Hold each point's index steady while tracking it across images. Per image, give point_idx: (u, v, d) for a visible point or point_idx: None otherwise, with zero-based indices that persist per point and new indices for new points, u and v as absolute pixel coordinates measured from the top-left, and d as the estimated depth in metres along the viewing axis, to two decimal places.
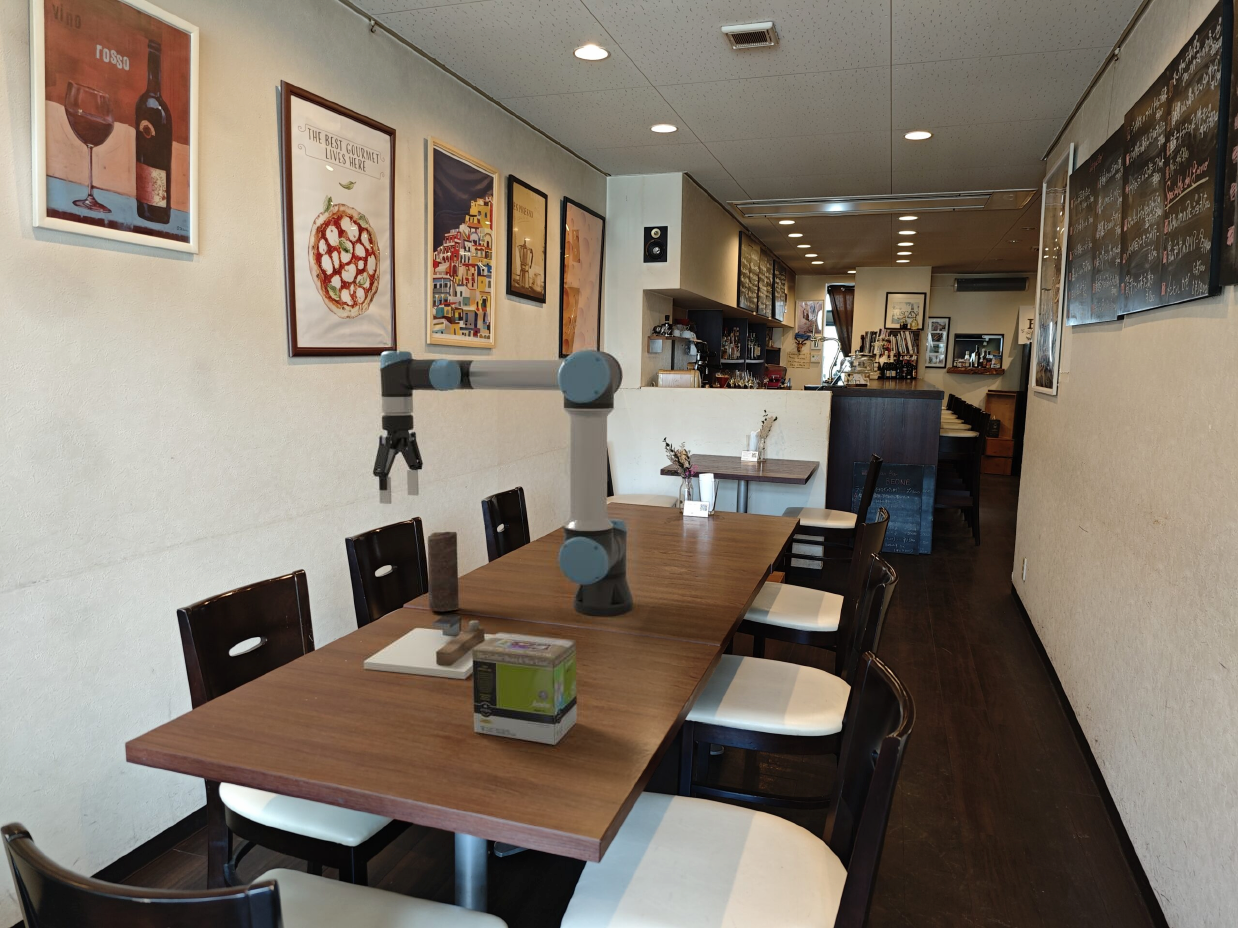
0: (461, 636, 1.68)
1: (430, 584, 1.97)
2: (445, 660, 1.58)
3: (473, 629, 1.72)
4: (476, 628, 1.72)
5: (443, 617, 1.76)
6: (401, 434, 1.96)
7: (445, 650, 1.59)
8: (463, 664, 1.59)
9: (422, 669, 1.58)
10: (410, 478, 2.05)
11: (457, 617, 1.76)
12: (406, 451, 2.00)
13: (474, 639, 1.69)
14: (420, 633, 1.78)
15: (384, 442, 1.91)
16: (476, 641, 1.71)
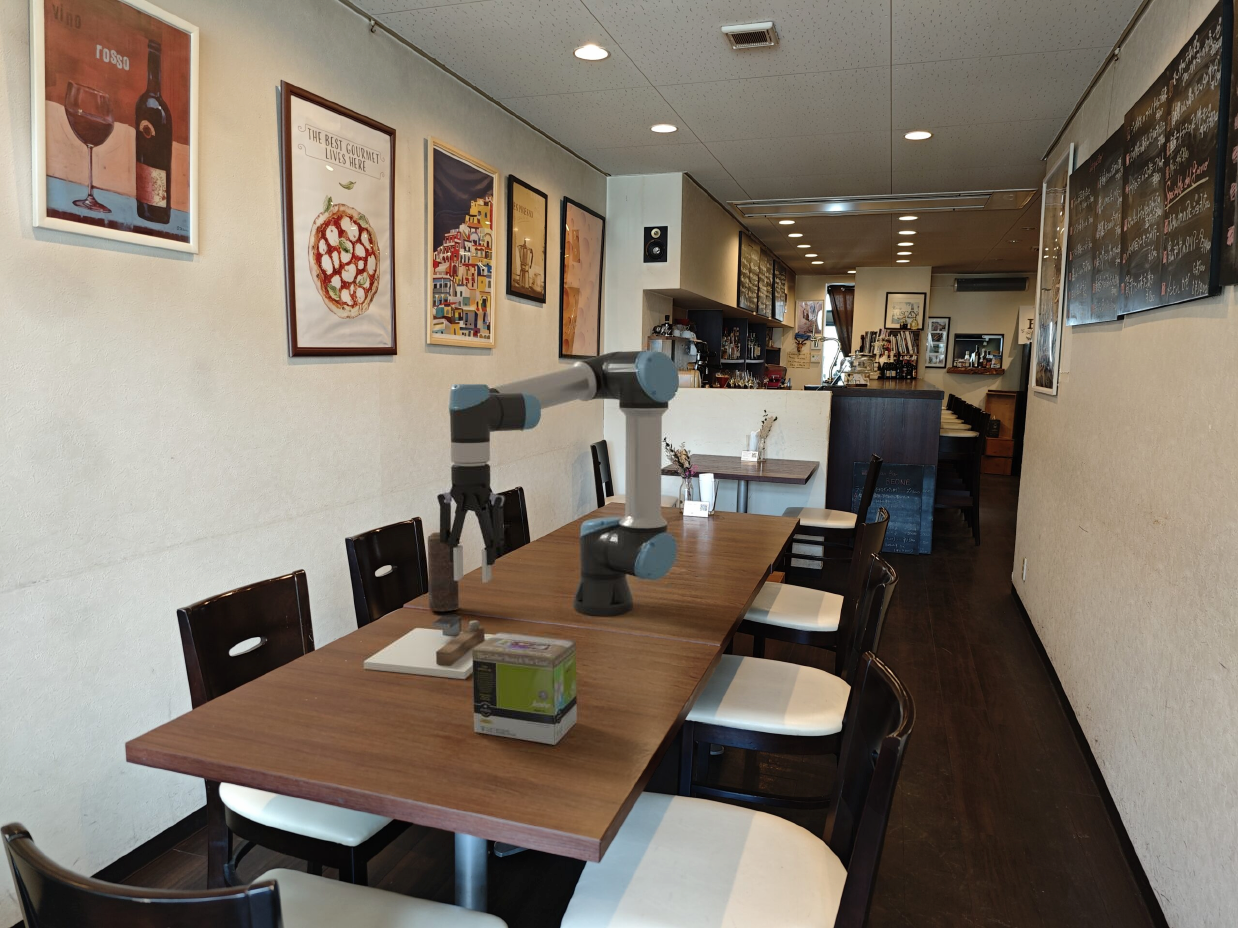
0: (461, 636, 1.68)
1: (430, 584, 1.97)
2: (445, 660, 1.58)
3: (473, 629, 1.72)
4: (476, 628, 1.72)
5: (443, 617, 1.76)
6: (467, 489, 1.55)
7: (445, 650, 1.59)
8: (463, 664, 1.59)
9: (422, 669, 1.58)
10: None
11: (457, 617, 1.76)
12: None
13: (474, 639, 1.69)
14: (420, 633, 1.78)
15: None
16: (476, 641, 1.71)
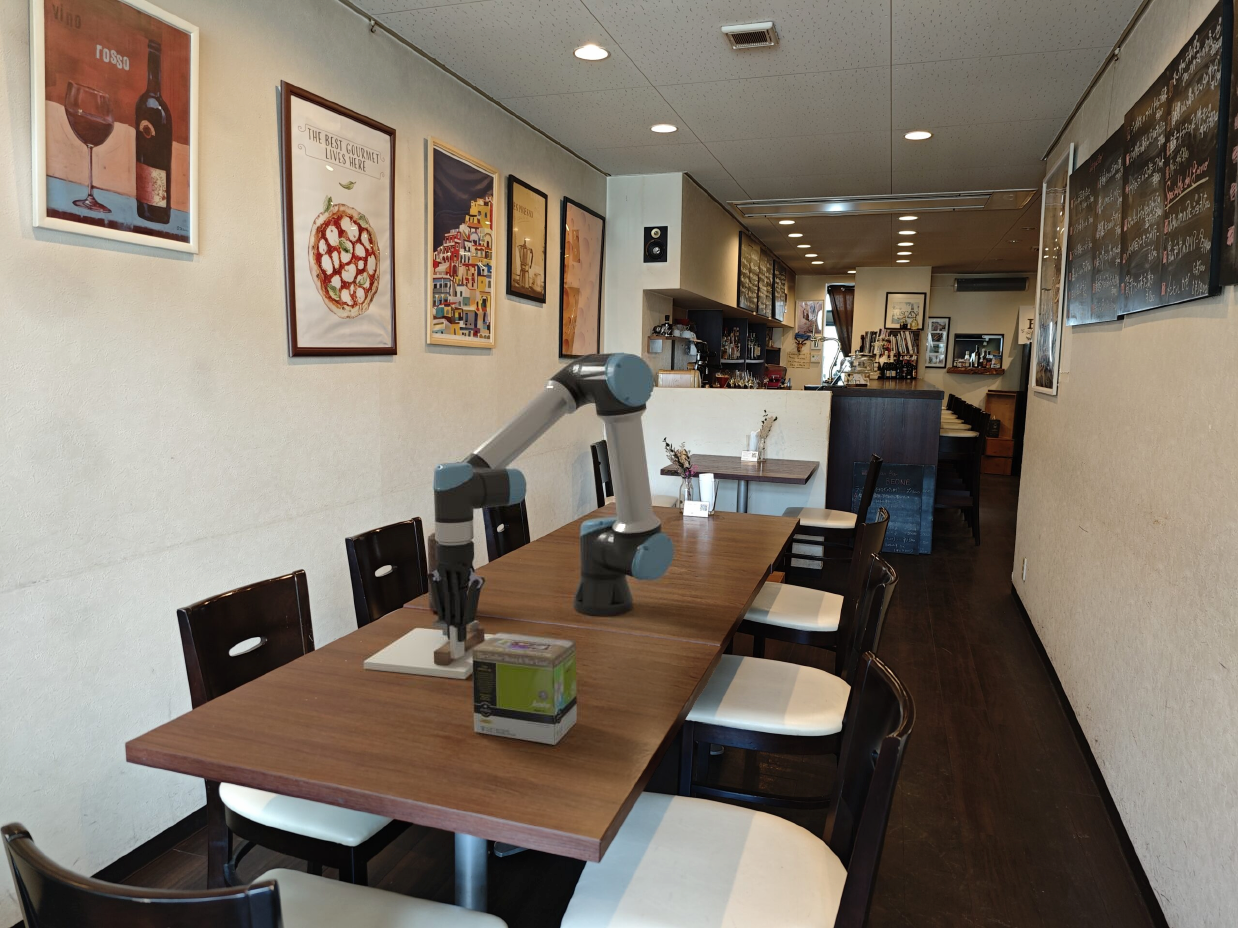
0: None
1: (430, 584, 1.97)
2: (442, 660, 1.59)
3: (473, 629, 1.72)
4: (476, 628, 1.72)
5: None
6: (450, 566, 1.57)
7: (443, 650, 1.59)
8: (463, 664, 1.59)
9: (422, 669, 1.58)
10: None
11: None
12: None
13: (473, 639, 1.69)
14: (420, 633, 1.78)
15: None
16: (476, 641, 1.71)
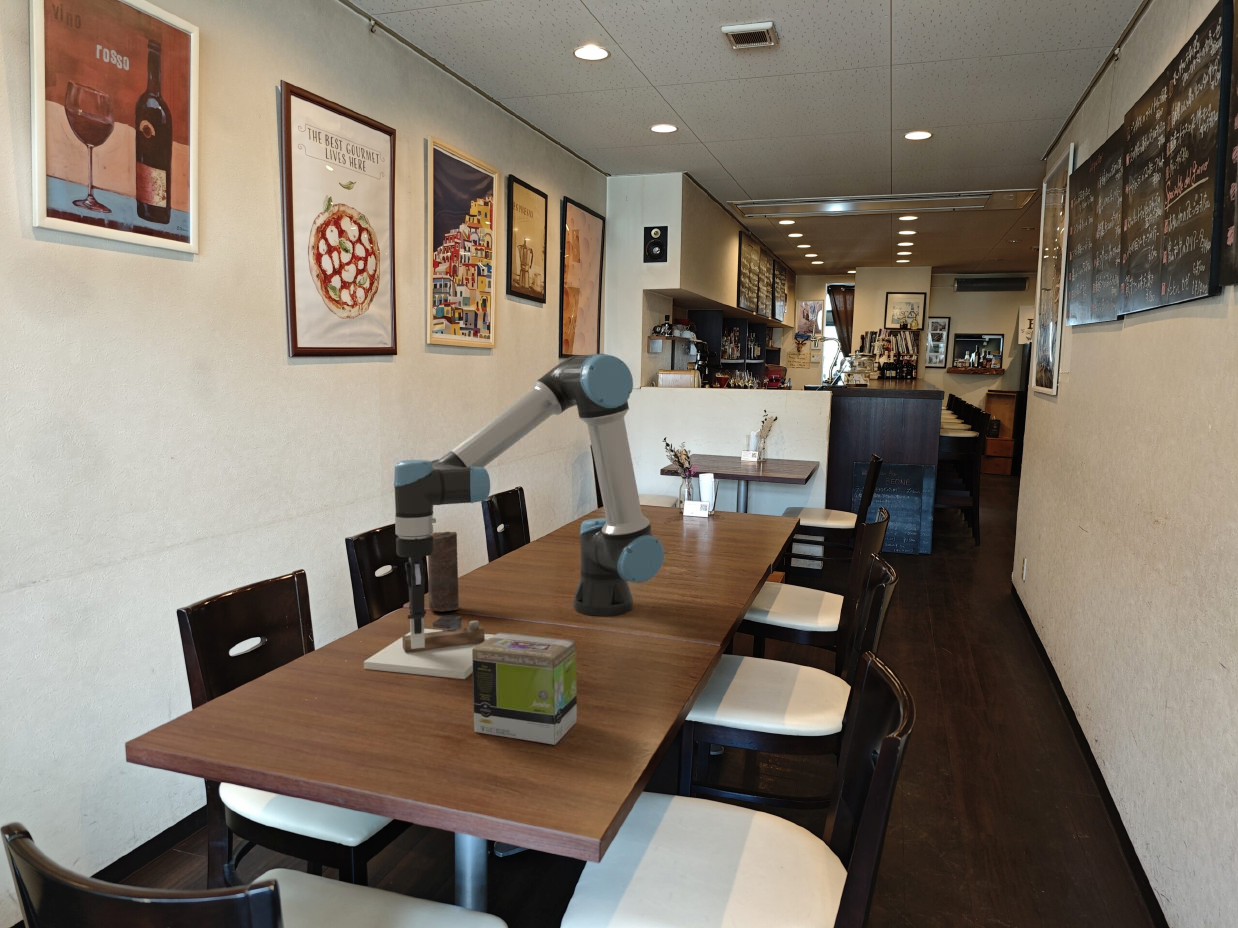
0: (449, 631, 1.71)
1: (430, 584, 1.97)
2: (404, 646, 1.66)
3: (470, 628, 1.72)
4: (472, 628, 1.72)
5: (443, 617, 1.76)
6: None
7: (408, 637, 1.67)
8: (463, 664, 1.59)
9: (422, 669, 1.58)
10: None
11: (457, 617, 1.76)
12: None
13: (461, 638, 1.70)
14: None
15: None
16: (465, 641, 1.71)
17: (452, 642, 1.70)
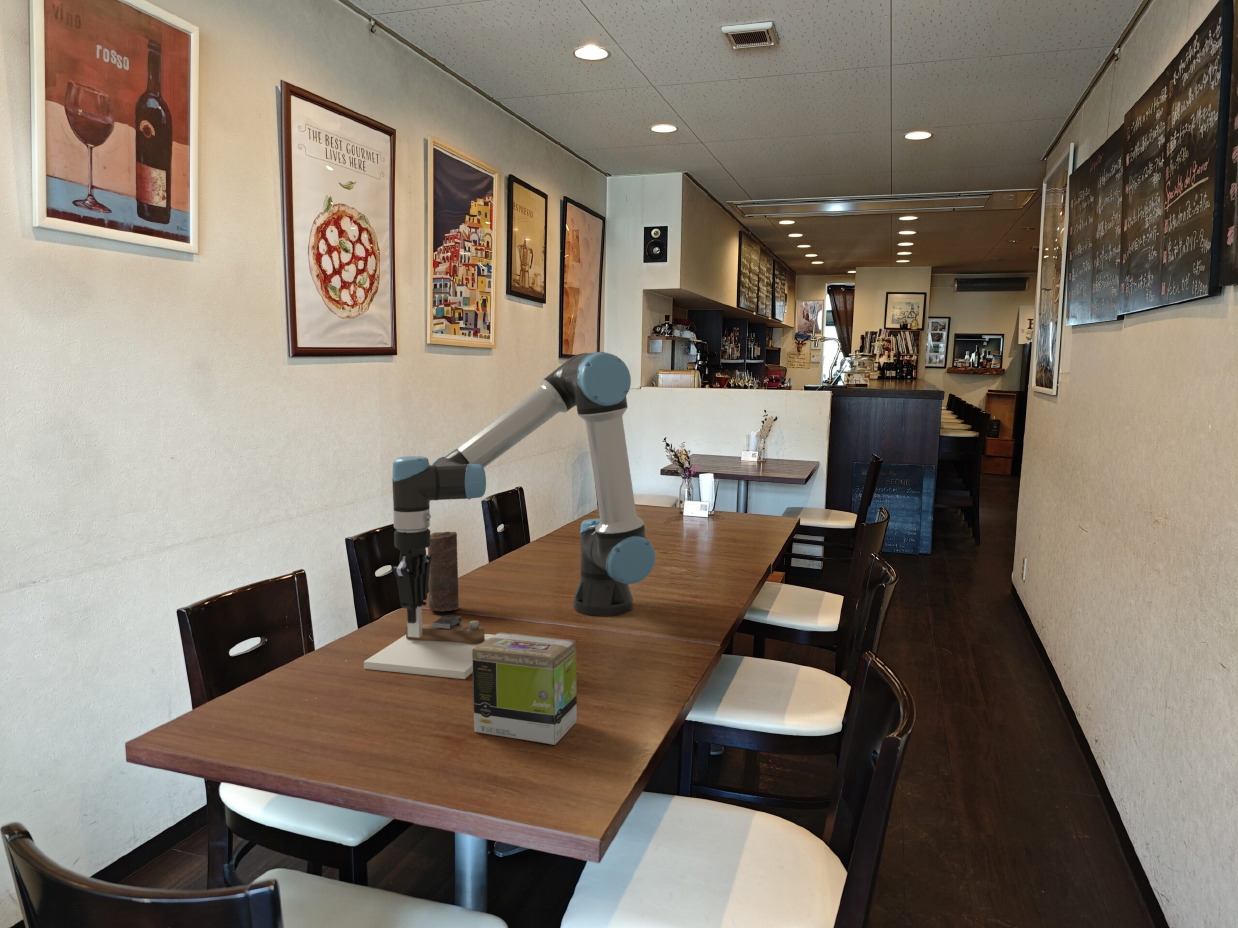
0: None
1: (430, 584, 1.97)
2: None
3: (469, 628, 1.73)
4: (470, 628, 1.72)
5: (443, 617, 1.76)
6: None
7: None
8: (463, 664, 1.59)
9: (422, 669, 1.58)
10: None
11: (457, 617, 1.76)
12: None
13: (457, 635, 1.72)
14: None
15: None
16: (462, 639, 1.72)
17: (449, 638, 1.72)
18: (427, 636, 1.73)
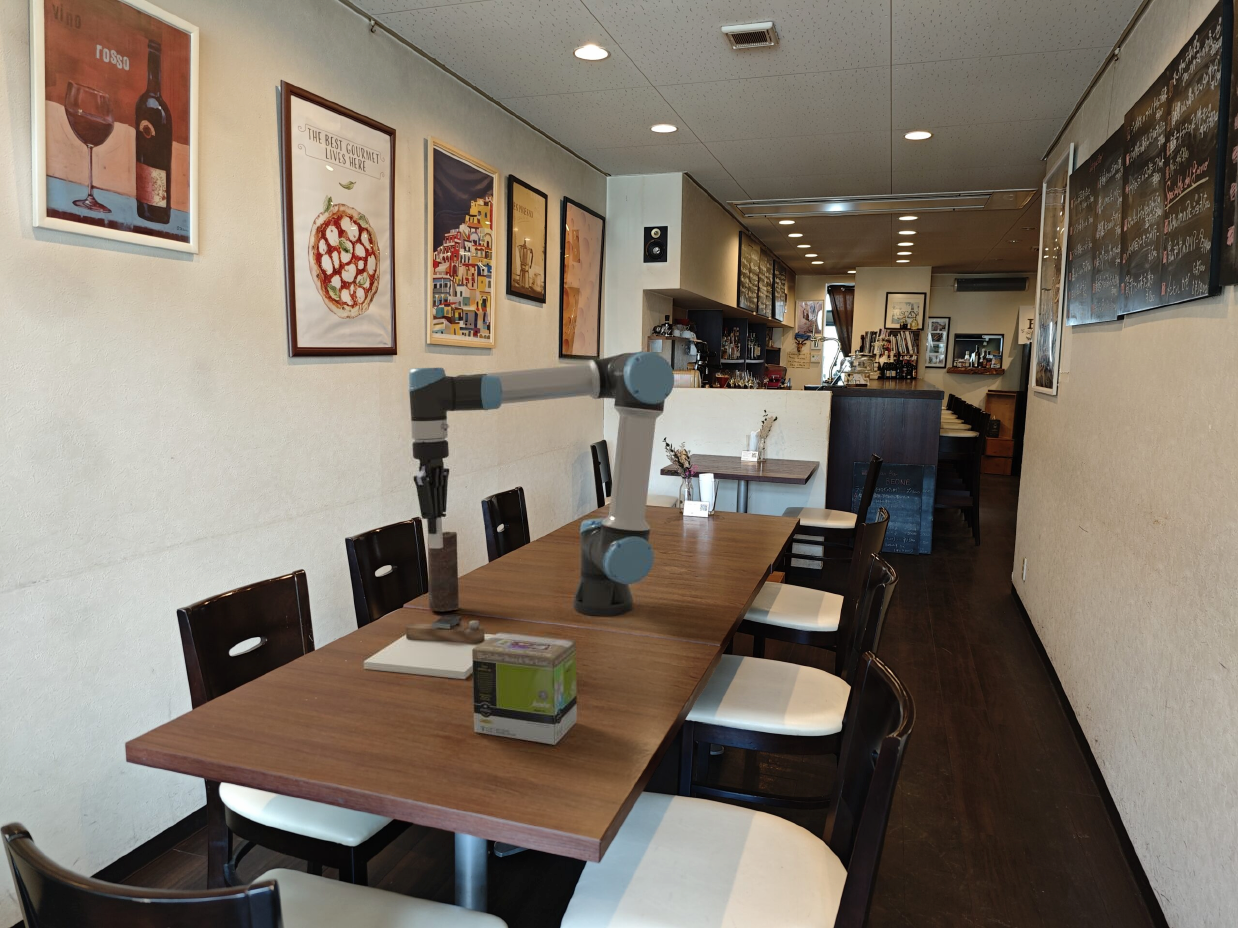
0: None
1: (430, 584, 1.97)
2: None
3: (469, 628, 1.73)
4: (470, 628, 1.72)
5: (443, 617, 1.76)
6: None
7: (412, 625, 1.75)
8: (463, 664, 1.59)
9: (422, 669, 1.58)
10: None
11: (457, 617, 1.76)
12: None
13: (457, 635, 1.72)
14: None
15: None
16: (461, 639, 1.72)
17: (449, 638, 1.72)
18: (427, 636, 1.73)
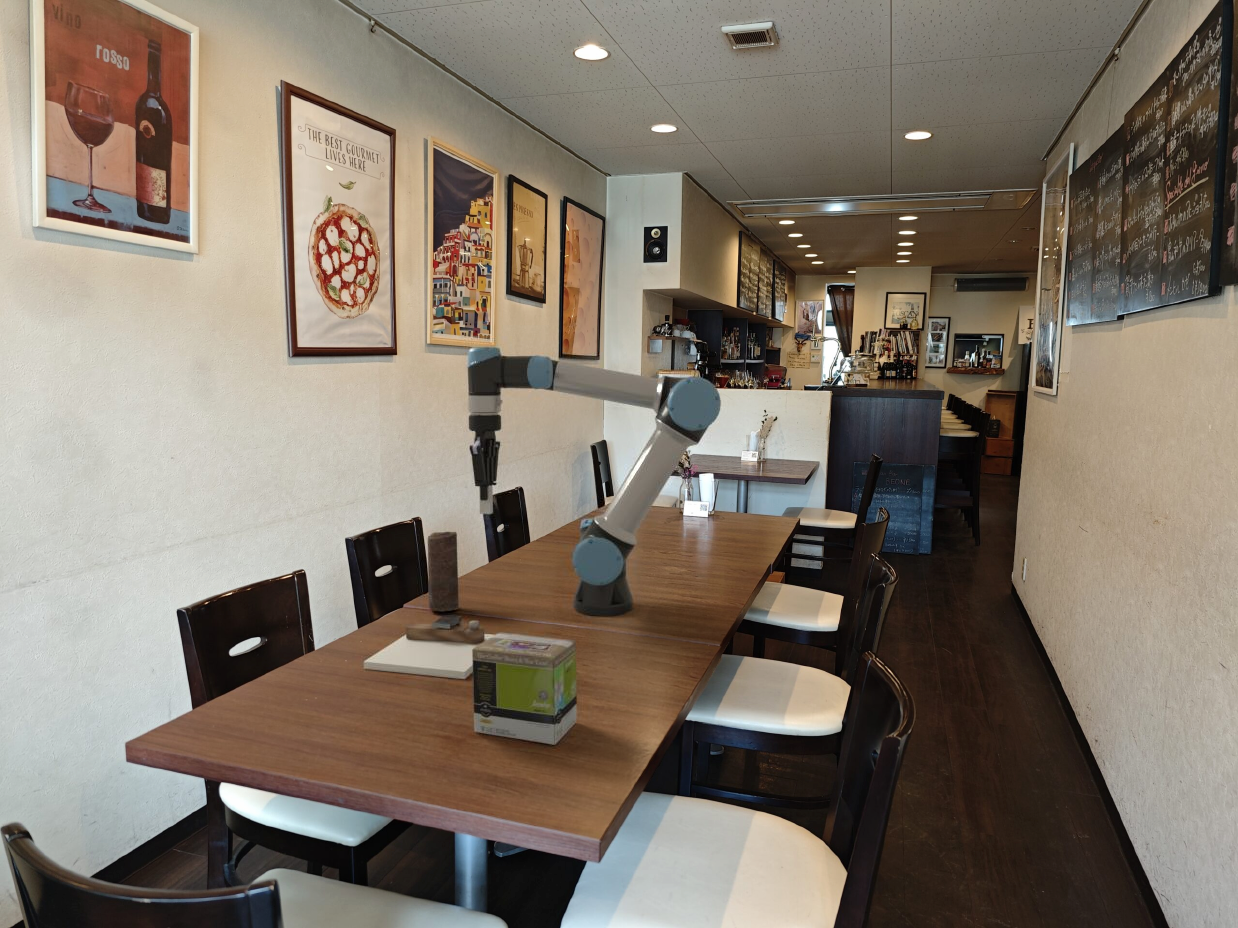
0: None
1: (430, 584, 1.97)
2: None
3: (469, 628, 1.73)
4: (470, 628, 1.72)
5: (443, 617, 1.76)
6: None
7: (412, 625, 1.75)
8: (463, 664, 1.59)
9: (422, 669, 1.58)
10: None
11: (457, 617, 1.76)
12: None
13: (457, 635, 1.72)
14: None
15: None
16: (461, 639, 1.72)
17: (449, 638, 1.72)
18: (427, 636, 1.73)
